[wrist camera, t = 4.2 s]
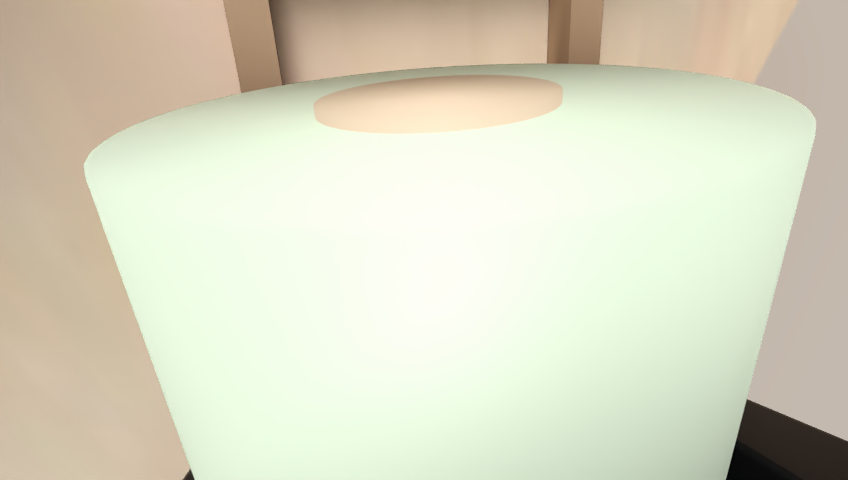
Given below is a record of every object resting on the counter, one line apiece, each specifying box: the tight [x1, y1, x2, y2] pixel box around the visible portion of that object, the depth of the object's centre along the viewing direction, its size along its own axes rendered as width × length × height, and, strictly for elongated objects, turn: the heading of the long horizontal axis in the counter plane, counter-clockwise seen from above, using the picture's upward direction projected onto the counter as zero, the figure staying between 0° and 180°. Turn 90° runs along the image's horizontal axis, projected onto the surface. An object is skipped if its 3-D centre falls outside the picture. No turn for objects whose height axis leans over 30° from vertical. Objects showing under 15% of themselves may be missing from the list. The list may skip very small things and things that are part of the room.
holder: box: [223, 0, 604, 93], centre depth 17 cm, size 16×12×3 cm
